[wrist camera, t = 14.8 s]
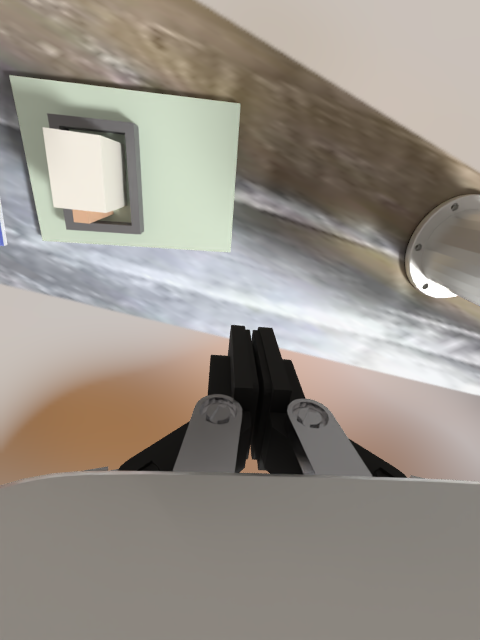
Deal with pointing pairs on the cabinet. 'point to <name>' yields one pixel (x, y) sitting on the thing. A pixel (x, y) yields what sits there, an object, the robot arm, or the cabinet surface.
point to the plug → (85, 173)
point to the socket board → (139, 163)
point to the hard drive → (2, 229)
